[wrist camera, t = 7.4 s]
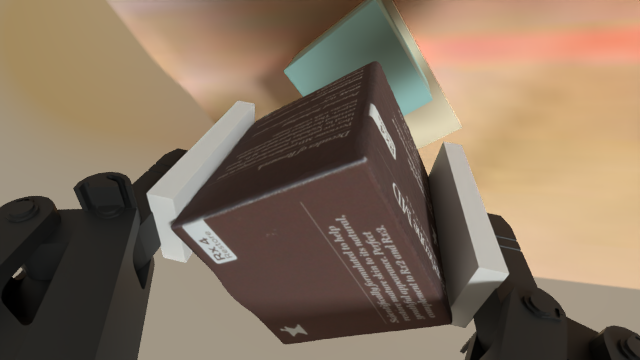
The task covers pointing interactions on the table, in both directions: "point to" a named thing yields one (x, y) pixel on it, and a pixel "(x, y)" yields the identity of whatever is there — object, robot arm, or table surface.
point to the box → (325, 218)
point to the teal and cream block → (395, 58)
